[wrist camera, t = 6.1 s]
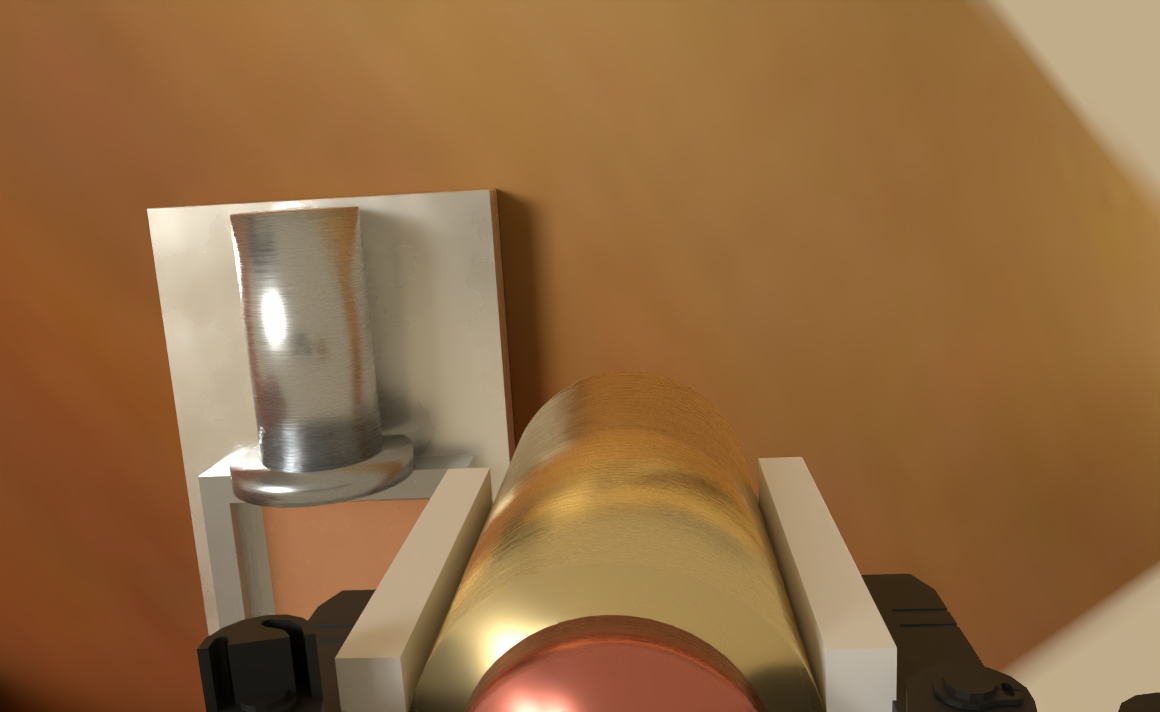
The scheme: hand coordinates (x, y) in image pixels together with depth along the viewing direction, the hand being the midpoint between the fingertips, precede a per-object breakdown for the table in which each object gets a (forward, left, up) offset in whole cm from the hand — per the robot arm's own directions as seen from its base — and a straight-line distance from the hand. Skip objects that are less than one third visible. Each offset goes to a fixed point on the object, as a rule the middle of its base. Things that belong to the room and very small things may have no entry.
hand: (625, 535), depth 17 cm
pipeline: (+8, -11, -18) cm, 22 cm away
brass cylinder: (0, 0, -3) cm, 3 cm away
